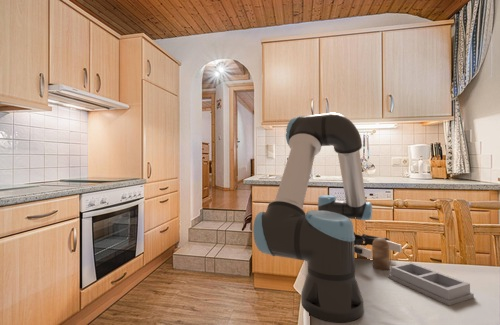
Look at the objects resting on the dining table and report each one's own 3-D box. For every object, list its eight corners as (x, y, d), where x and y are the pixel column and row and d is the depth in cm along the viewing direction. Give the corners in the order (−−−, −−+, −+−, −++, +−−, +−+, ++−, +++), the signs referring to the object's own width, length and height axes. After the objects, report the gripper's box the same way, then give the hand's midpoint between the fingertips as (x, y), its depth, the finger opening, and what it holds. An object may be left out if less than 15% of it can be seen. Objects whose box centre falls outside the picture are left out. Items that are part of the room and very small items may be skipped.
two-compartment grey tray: (388, 277, 81) (388, 266, 81) (410, 272, 85) (410, 261, 85) (449, 305, 65) (448, 291, 65) (473, 297, 68) (473, 284, 69)
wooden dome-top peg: (375, 269, 88) (374, 239, 88) (370, 264, 93) (370, 235, 93) (392, 270, 87) (391, 240, 87) (386, 264, 92) (385, 236, 92)
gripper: (365, 241, 112) (412, 257, 93) (317, 249, 103) (357, 268, 83) (365, 223, 112) (412, 235, 93) (316, 230, 103) (357, 245, 83)
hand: (386, 251), depth 88 cm, fingers open, 13 cm apart
